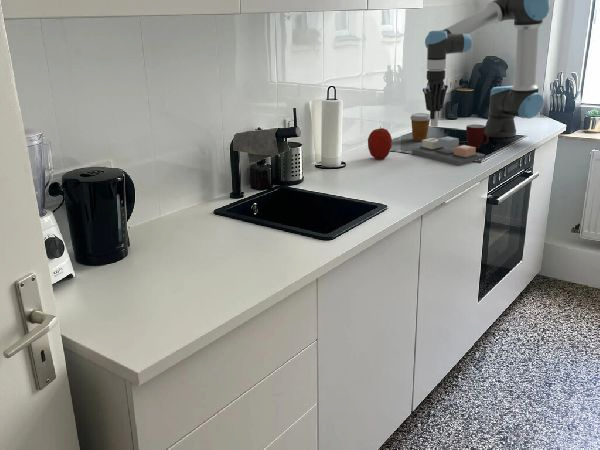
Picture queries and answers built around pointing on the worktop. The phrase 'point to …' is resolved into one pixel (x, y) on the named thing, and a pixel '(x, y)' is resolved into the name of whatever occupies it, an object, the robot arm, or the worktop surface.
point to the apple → (379, 143)
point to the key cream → (430, 143)
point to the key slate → (448, 142)
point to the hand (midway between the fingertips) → (434, 126)
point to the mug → (476, 135)
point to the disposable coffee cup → (420, 126)
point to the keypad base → (446, 155)
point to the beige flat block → (464, 150)
